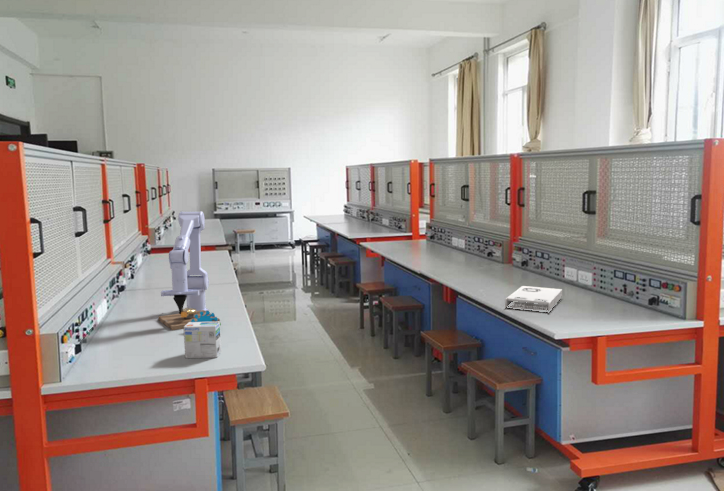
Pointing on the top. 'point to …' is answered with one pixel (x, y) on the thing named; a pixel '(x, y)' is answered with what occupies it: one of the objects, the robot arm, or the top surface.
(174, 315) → the board
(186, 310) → the lever handle
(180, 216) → the robot arm
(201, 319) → the gear
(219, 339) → the light bulb box
